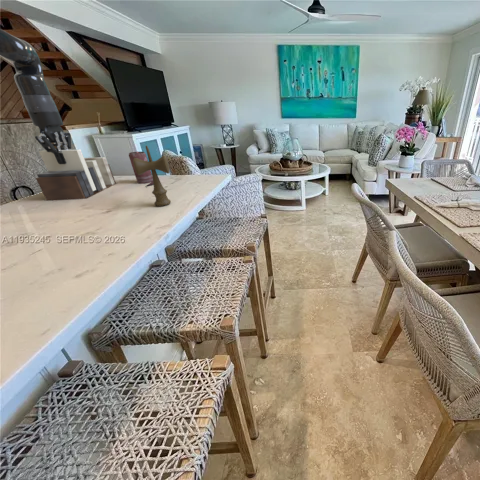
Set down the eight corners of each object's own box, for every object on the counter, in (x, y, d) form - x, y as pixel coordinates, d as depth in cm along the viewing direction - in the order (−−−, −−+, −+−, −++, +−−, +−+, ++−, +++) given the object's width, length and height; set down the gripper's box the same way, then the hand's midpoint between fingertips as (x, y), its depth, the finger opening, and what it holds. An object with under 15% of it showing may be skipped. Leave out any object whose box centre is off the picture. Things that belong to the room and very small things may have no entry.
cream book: (57, 192, 99) (38, 151, 92) (62, 191, 101) (43, 150, 94) (93, 191, 101) (76, 150, 94) (96, 189, 103) (80, 149, 96)
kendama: (177, 205, 93) (162, 145, 84) (146, 209, 90) (126, 147, 81) (178, 200, 98) (164, 143, 89) (149, 203, 95) (130, 145, 86)
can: (152, 182, 121) (143, 150, 115) (155, 185, 117) (146, 152, 110) (137, 184, 118) (126, 152, 111) (139, 187, 113) (129, 153, 107)
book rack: (45, 204, 94) (27, 169, 89) (84, 187, 114) (71, 157, 108) (88, 202, 96) (73, 167, 91) (119, 186, 116) (109, 156, 110)
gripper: (46, 110, 94) (67, 160, 102) (11, 110, 82) (38, 167, 89) (69, 110, 95) (88, 159, 103) (39, 110, 83) (63, 166, 91)
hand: (65, 163), depth 96 cm, fingers closed on cream book, 2 cm apart
